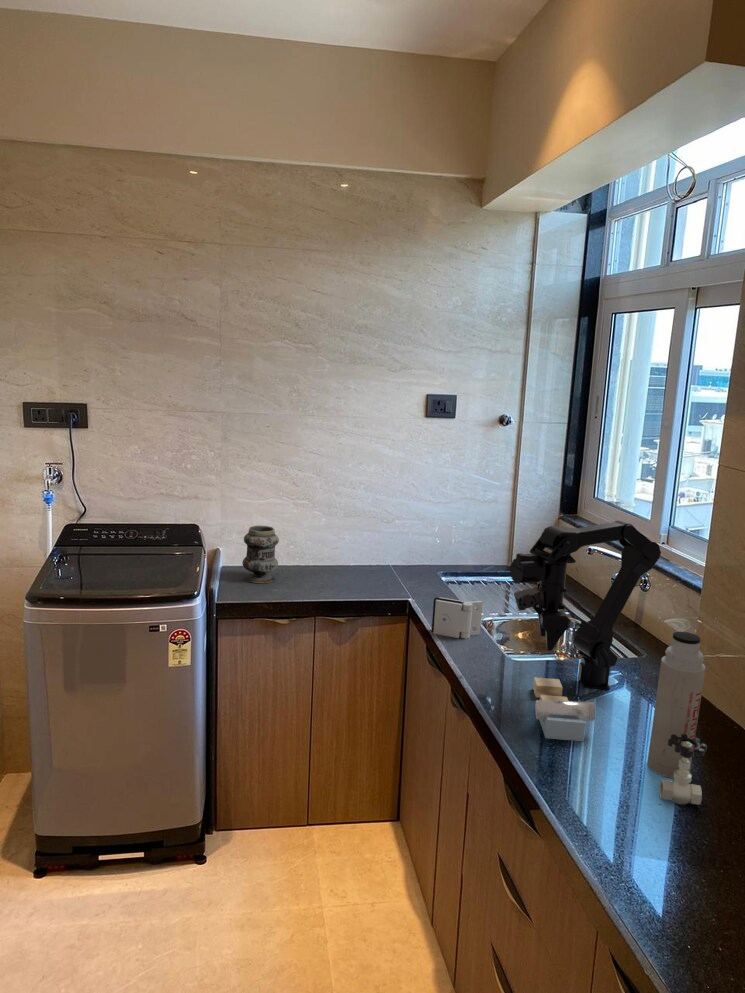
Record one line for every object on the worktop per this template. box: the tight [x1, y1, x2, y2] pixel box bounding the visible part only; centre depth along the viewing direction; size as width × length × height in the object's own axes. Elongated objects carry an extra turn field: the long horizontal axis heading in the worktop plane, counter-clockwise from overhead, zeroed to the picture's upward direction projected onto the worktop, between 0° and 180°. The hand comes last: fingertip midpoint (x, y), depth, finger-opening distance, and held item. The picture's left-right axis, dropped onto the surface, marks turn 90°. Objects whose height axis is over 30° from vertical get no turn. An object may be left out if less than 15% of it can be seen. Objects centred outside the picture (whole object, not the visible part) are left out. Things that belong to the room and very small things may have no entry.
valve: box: [658, 734, 708, 806], centre depth 136 cm, size 7×7×12 cm
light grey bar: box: [534, 699, 596, 722], centre depth 161 cm, size 12×4×4 cm, turn 87°
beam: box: [532, 676, 569, 701], centre depth 174 cm, size 6×14×3 cm, turn 177°
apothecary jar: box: [241, 525, 280, 584], centre depth 253 cm, size 12×12×18 cm
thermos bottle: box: [646, 631, 706, 779], centre depth 146 cm, size 8×8×28 cm
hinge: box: [431, 596, 484, 640], centre depth 213 cm, size 14×5×10 cm, turn 83°
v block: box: [538, 717, 587, 742], centre depth 161 cm, size 8×8×4 cm
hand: (546, 643), depth 179 cm, fingers open, 9 cm apart
